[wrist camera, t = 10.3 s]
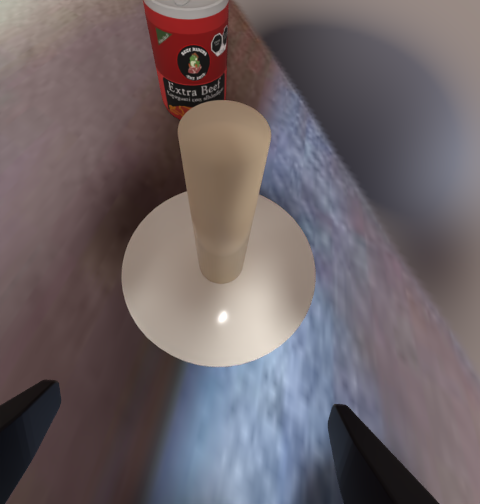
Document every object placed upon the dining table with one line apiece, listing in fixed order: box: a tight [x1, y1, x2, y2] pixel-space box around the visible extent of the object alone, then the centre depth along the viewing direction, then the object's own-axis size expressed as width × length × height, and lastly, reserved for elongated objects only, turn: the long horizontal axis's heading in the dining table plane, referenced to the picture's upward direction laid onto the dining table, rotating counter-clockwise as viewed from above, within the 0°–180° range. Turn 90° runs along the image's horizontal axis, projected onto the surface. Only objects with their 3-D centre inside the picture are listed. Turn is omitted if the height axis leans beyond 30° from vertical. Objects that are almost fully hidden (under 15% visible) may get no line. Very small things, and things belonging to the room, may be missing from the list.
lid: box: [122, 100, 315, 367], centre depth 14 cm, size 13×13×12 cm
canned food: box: [143, 0, 229, 120], centre depth 29 cm, size 8×8×11 cm
